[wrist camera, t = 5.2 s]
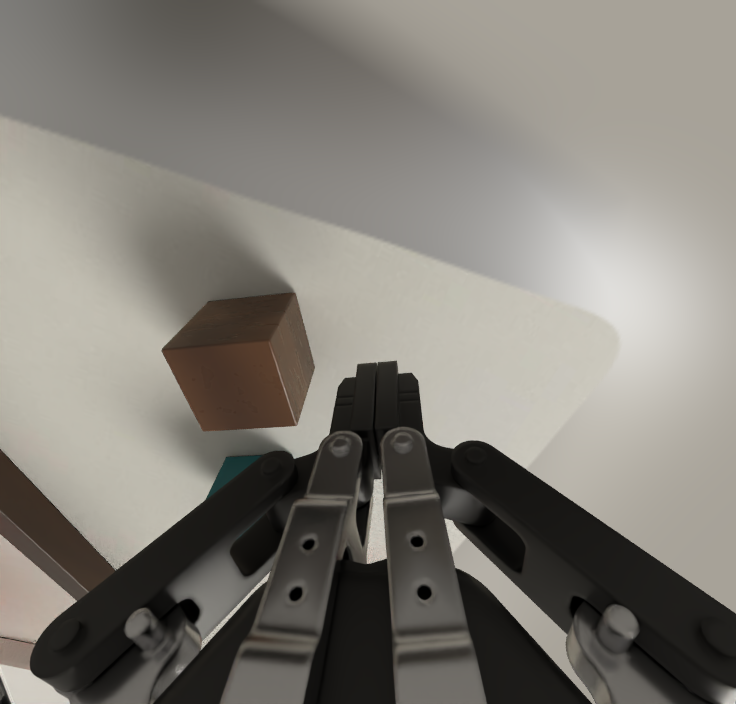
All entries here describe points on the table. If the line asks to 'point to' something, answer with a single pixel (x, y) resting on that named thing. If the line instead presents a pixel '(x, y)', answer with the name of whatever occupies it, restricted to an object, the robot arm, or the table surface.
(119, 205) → the table surface
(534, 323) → the table surface
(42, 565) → the rail
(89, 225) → the table surface
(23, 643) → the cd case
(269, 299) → the block walnut
